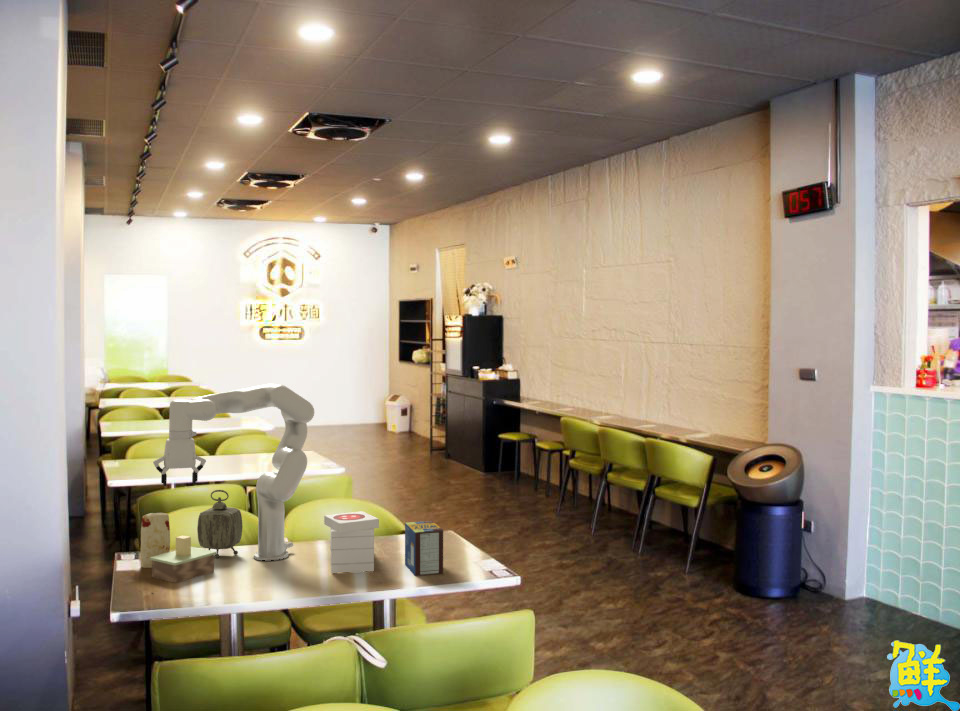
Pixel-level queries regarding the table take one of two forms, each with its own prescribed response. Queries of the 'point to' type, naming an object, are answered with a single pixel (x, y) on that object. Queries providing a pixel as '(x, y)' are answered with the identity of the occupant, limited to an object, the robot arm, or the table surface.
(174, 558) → the lid
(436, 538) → the protein box
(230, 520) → the tabletop clock
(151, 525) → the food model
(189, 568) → the box
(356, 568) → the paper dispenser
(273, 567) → the table surface
